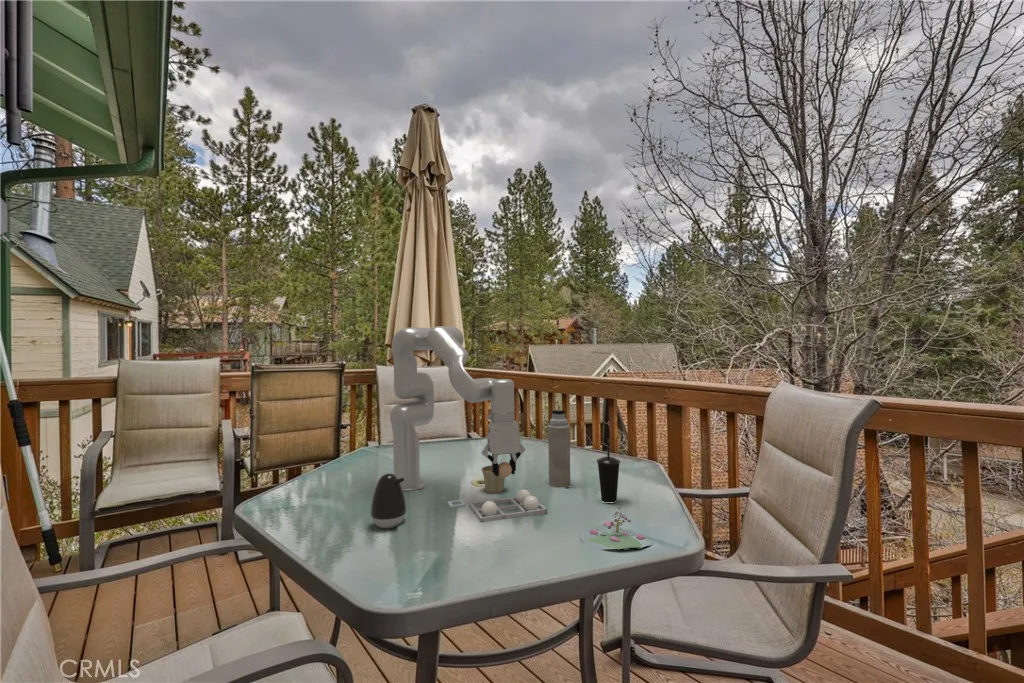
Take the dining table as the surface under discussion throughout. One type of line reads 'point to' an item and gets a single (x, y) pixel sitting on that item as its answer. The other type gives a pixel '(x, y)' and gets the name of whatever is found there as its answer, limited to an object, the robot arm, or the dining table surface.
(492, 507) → the white egg
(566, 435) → the thermos bottle
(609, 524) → the plant
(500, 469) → the brown egg
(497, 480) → the flower pot
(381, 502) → the penguin figurine
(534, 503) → the white egg
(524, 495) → the white egg
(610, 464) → the drinking cup
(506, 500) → the carton
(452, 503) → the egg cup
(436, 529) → the dining table surface
